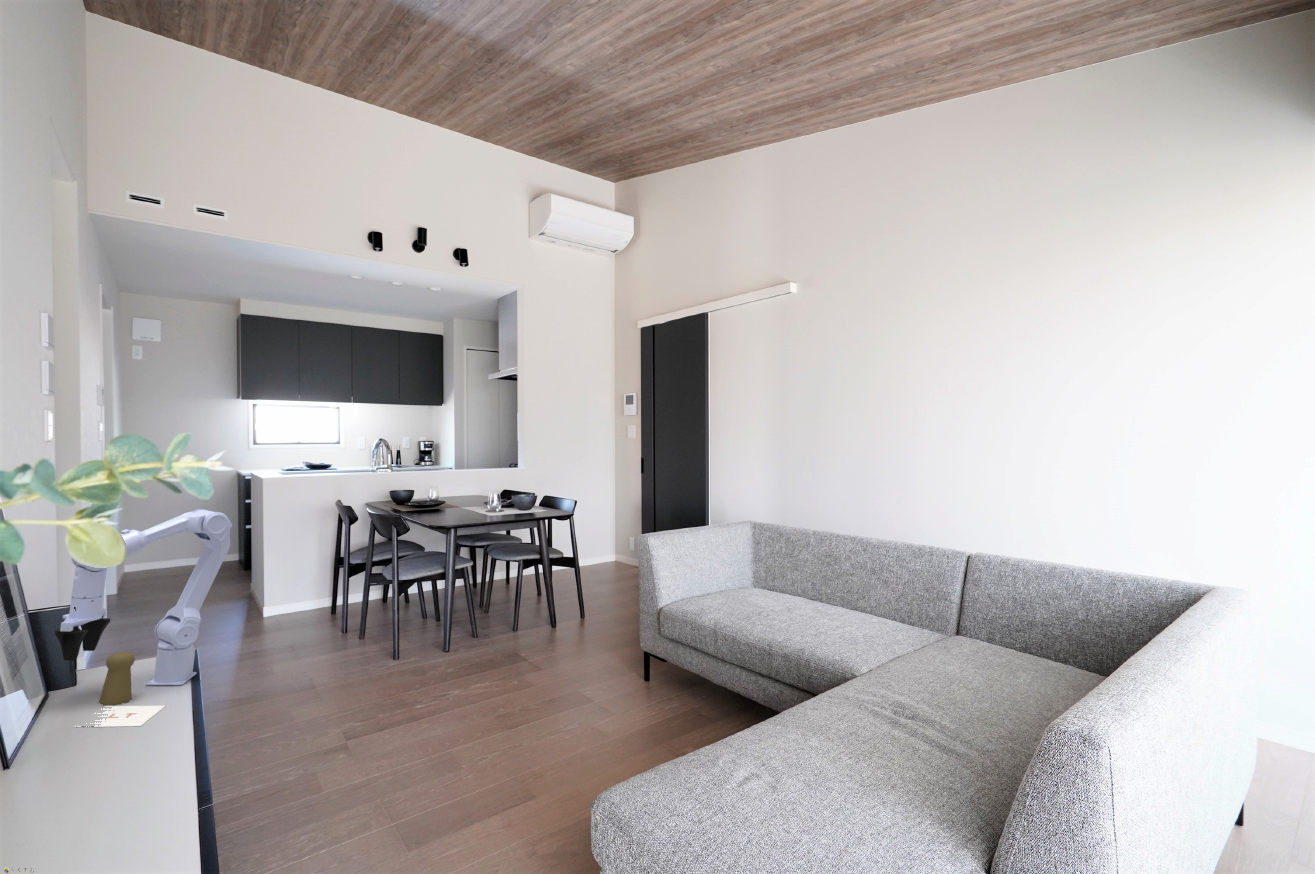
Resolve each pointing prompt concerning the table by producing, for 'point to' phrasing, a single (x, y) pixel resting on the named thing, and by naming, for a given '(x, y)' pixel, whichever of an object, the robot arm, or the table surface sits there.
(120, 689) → the olive knobbed shaker
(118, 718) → the card
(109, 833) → the table surface
